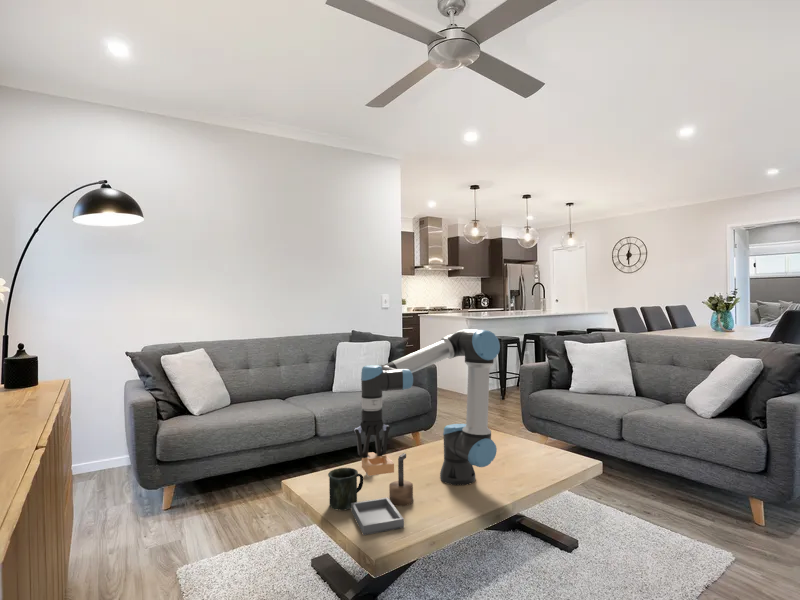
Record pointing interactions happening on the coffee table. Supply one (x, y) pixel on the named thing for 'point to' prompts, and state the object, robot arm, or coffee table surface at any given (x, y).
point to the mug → (343, 487)
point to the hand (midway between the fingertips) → (372, 474)
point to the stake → (401, 487)
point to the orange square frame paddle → (377, 464)
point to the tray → (377, 516)
